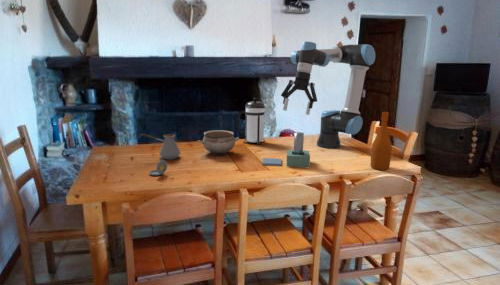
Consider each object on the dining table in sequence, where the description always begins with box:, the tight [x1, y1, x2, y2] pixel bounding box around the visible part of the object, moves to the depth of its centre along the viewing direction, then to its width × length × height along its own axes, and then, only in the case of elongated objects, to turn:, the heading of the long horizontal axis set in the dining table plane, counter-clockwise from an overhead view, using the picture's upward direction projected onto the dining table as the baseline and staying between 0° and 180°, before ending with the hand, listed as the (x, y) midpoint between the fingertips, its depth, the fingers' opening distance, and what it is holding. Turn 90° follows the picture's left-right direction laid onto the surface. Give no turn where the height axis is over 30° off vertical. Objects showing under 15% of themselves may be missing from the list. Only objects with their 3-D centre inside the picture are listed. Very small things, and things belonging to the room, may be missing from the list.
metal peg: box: [293, 131, 305, 155], centre depth 196 cm, size 5×5×17 cm
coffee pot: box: [139, 132, 181, 161], centre depth 202 cm, size 21×12×15 cm, turn 109°
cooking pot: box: [197, 129, 240, 156], centre depth 214 cm, size 25×19×12 cm
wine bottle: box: [370, 111, 393, 171], centre depth 189 cm, size 10×10×30 cm
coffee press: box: [236, 97, 267, 146], centre depth 239 cm, size 17×16×30 cm
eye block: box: [286, 149, 311, 168], centre depth 197 cm, size 12×12×6 cm
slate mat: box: [261, 157, 282, 167], centre depth 199 cm, size 10×10×1 cm
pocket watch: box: [149, 155, 168, 177], centre depth 176 cm, size 8×8×10 cm
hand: (295, 112), depth 191 cm, fingers open, 13 cm apart
